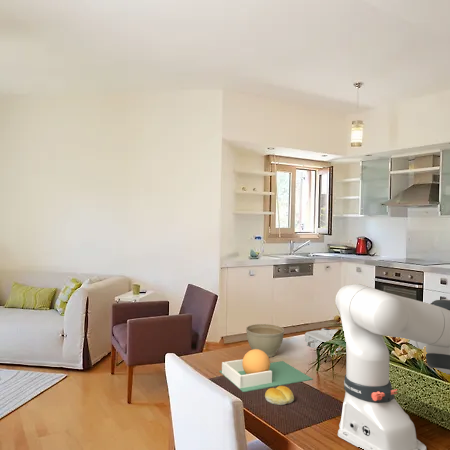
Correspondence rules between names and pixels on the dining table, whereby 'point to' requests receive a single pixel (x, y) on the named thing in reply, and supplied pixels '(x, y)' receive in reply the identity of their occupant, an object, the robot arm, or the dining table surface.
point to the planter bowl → (265, 338)
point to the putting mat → (278, 376)
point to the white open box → (242, 381)
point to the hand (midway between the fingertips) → (309, 344)
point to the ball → (255, 361)
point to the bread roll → (279, 395)
